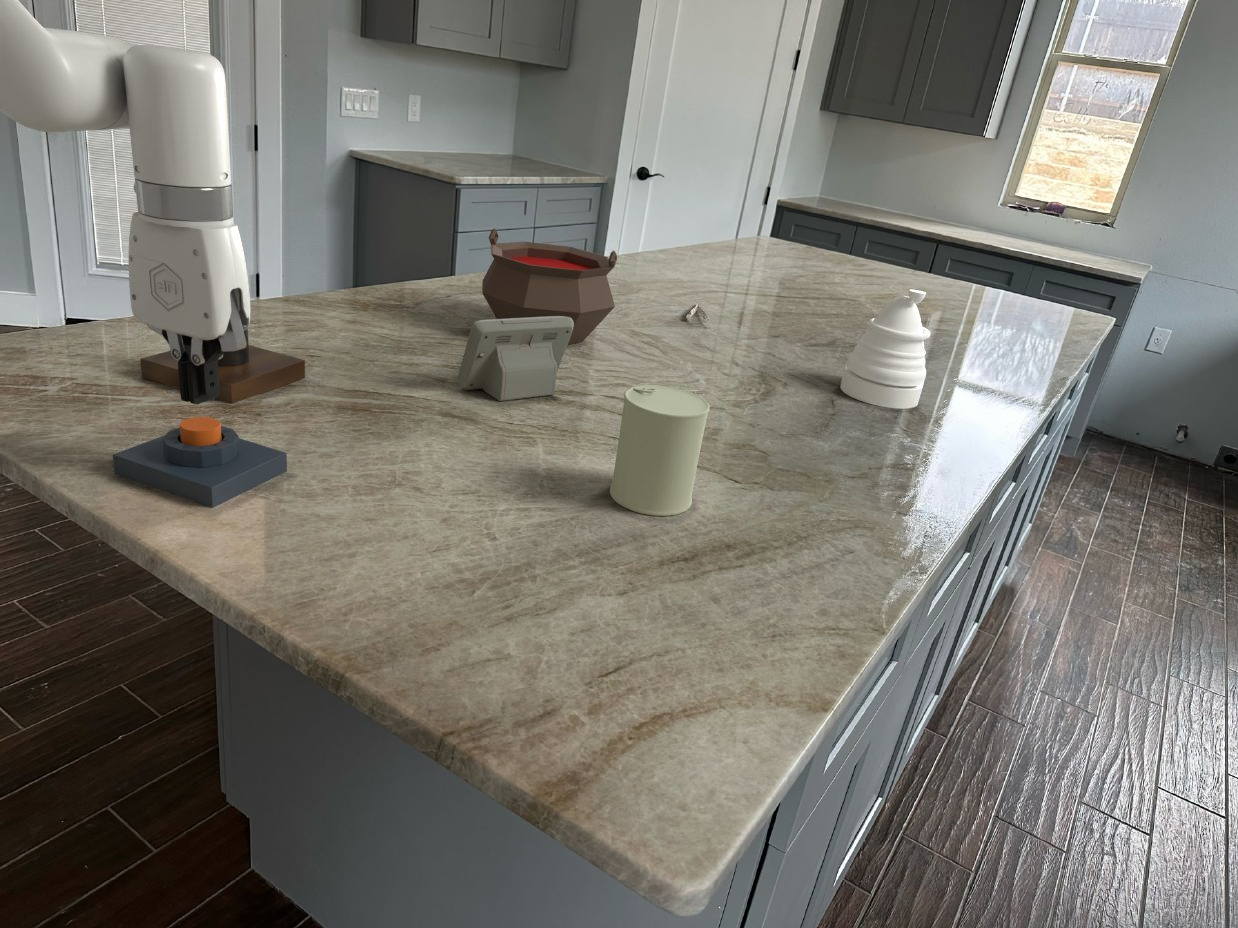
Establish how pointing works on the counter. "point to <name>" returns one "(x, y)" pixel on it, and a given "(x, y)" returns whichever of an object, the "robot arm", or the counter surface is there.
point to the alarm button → (200, 431)
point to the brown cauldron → (549, 283)
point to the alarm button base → (201, 466)
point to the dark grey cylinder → (235, 355)
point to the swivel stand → (233, 373)
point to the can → (658, 449)
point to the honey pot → (890, 357)
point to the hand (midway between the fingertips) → (200, 398)
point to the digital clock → (515, 356)
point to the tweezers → (700, 313)
